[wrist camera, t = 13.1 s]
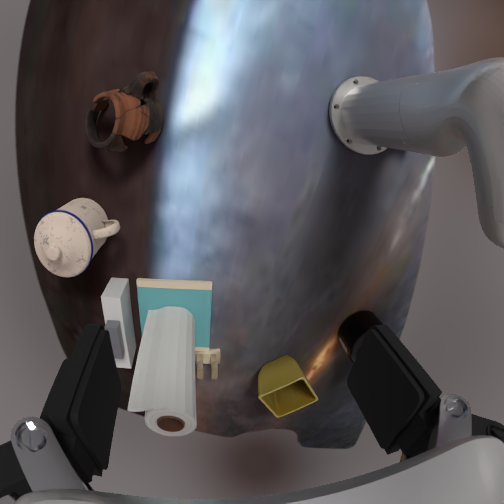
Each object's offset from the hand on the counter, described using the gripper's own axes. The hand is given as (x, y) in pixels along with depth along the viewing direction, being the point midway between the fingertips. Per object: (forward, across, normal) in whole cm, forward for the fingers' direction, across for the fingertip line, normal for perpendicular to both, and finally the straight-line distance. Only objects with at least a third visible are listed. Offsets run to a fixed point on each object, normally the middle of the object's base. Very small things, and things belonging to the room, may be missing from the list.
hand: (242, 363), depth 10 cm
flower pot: (+34, -15, +34) cm, 51 cm away
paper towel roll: (+34, +5, +22) cm, 40 cm away
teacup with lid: (+34, +18, +6) cm, 39 cm away
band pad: (+34, +5, +22) cm, 41 cm away
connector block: (+34, +14, +22) cm, 43 cm away
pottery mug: (+35, +12, -10) cm, 38 cm away
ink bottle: (+34, -30, +25) cm, 52 cm away
